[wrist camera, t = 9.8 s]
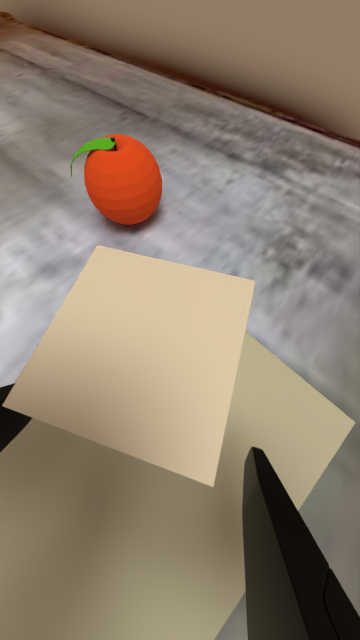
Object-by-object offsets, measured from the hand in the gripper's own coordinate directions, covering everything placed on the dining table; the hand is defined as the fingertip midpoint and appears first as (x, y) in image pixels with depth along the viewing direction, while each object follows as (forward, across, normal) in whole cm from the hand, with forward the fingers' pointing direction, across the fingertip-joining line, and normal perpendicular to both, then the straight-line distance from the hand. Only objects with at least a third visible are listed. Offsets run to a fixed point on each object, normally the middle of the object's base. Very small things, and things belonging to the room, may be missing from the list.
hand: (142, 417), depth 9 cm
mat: (+3, 0, +6) cm, 7 cm away
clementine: (+17, +10, -8) cm, 21 cm away
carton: (+6, 0, +2) cm, 6 cm away
